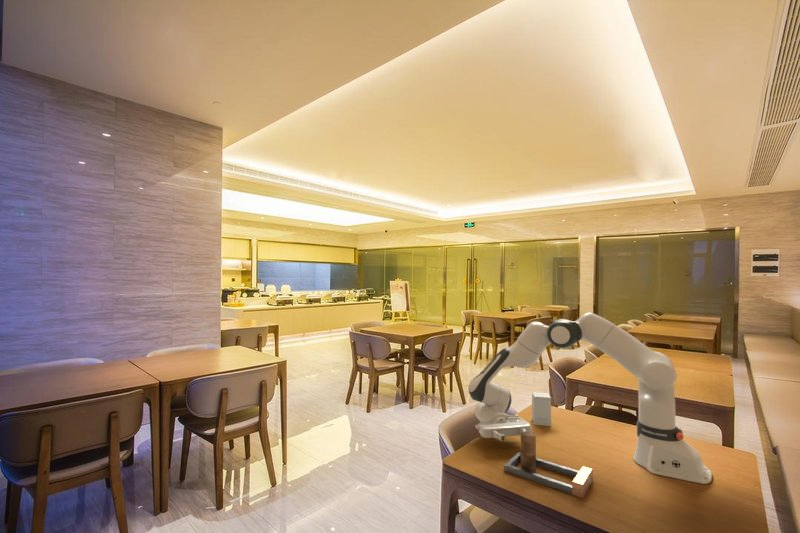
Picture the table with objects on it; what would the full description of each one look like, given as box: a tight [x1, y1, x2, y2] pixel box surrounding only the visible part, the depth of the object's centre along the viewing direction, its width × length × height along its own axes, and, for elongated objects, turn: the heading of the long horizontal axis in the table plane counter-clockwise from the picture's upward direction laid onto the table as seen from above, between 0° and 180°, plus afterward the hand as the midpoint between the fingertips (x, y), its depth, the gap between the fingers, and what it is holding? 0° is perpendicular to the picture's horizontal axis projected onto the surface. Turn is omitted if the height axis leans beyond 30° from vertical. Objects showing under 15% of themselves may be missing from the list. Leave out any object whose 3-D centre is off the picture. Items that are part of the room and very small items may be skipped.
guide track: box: [503, 452, 594, 499], centre depth 129 cm, size 25×12×4 cm, turn 51°
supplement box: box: [531, 392, 552, 427], centre depth 176 cm, size 7×7×13 cm
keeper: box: [520, 431, 537, 473], centre depth 133 cm, size 5×5×12 cm
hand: (514, 437), depth 143 cm, fingers open, 8 cm apart
